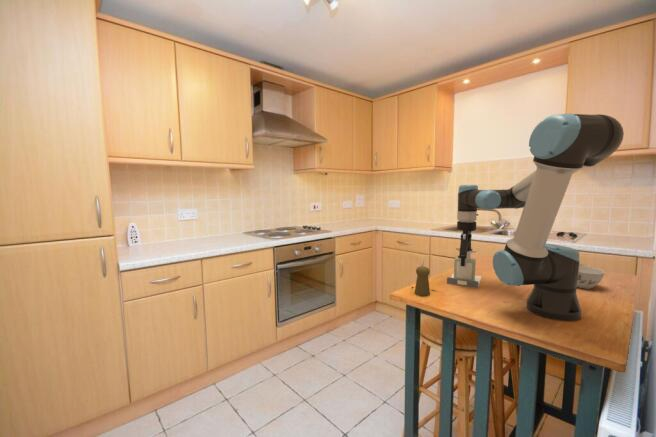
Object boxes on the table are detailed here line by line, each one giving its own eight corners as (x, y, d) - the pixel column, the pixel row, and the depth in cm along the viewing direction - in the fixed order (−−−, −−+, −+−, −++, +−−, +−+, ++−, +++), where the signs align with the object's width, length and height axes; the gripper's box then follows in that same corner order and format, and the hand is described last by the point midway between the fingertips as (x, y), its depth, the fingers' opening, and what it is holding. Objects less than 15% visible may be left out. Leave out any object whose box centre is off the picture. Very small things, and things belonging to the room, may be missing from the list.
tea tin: (453, 281, 133) (454, 259, 132) (455, 278, 137) (456, 256, 135) (473, 284, 129) (474, 261, 128) (474, 281, 133) (475, 259, 131)
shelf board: (477, 291, 124) (478, 282, 124) (446, 286, 130) (447, 277, 130) (481, 278, 140) (481, 270, 139) (453, 274, 146) (453, 267, 145)
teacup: (601, 294, 119) (603, 274, 118) (561, 287, 128) (563, 268, 127) (603, 284, 130) (605, 266, 129) (567, 278, 138) (568, 261, 137)
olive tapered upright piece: (429, 291, 124) (430, 265, 123) (430, 297, 119) (431, 269, 117) (414, 290, 126) (415, 264, 125) (414, 295, 120) (415, 268, 119)
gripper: (473, 225, 117) (471, 278, 119) (479, 218, 138) (477, 263, 141) (452, 224, 121) (450, 275, 123) (461, 217, 142) (459, 261, 145)
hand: (464, 269), depth 132 cm, fingers open, 13 cm apart
